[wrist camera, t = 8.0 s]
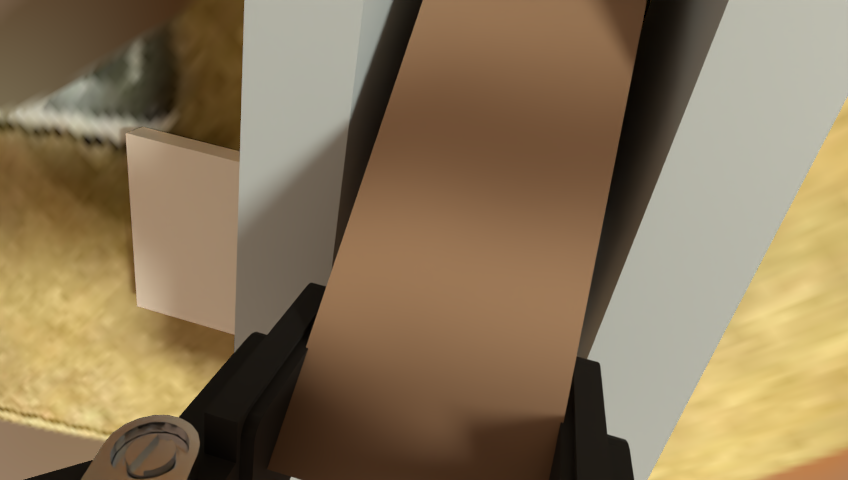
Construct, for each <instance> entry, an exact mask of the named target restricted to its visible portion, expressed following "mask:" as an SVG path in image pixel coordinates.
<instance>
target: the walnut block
mask: <svg viewBox="0 0 848 480" xmlns="http://www.w3.org/2000/svg"><path fill="white" fill-rule="evenodd" d="M646 2H647V0H423V1H422V4H421V7H420V10H419V13H418V16H417V19H416V22H415V25H414V28H413V31H412V34H411V37H410V40H409V43H408V46H407V49H406V52H405V55H404V58H403V61H402V64H401V67H400V70H399V73H398V76H397V79H396V81H395V84H394V87H393V90H392V93H391V96H390V99H389V102H388V105H387V108H386V111H385V114H384V117H383V120H382V123H381V126H380V129H379V132H378V135H377V138H376V141H375V144H374V147H373V150H372V153H371V156H370V159H369V162H368V165H367V167H366V170H365V173H364V176H363V179H362V182H361V185H360V188H359V191H358V194H357V197H356V200H355V203H354V206H353V209H352V212H351V215H350V218H349V221H348V224H347V227H346V230H345V233H344V236H343V239H342V242H341V245H340V248H339V251H338V254H337V256H336V259H335V262H334V265H333V268H332V271H331V274H330V277H329V280H328V283H327V286H326V289H325V292H324V295H323V298H322V301H321V304H320V307H319V310H318V313H317V316H316V319H315V322H314V325H313V328H312V331H311V334H310V337H309V340H308V342H307V345H306V348H308V351H307V354H306V356H305V359H304V362H303V365H302V368H301V371H300V374H299V377H298V380H297V383H296V386H295V389H294V392H293V395H292V398H291V400H290V403H289V406H288V409H287V412H286V415H285V418H284V421H283V424H282V427H281V430H280V433H279V436H278V439H277V442H276V444H275V447H274V450H273V453H272V456H271V459H270V462H269V465H268V468H267V469H269V470H272V471H275V472H278V473H281V474H284V475H288V476H291V477H294V478H297V479H300V480H549V477H550V472H551V467H552V462H553V457H554V453H555V448H556V443H557V438H558V433H559V428H560V423H561V422H562V423H563V422H564V417H565V412H566V407H567V402H568V397H569V392H570V387H571V382H572V377H573V372H574V367H575V362H576V357H577V351H578V346H579V341H580V336H581V331H582V326H583V321H584V316H585V311H586V306H587V301H588V296H589V291H590V286H591V281H592V275H593V270H594V265H595V260H596V255H597V250H598V245H599V240H600V235H601V230H602V225H603V220H604V215H605V210H606V205H607V200H608V194H609V189H610V184H611V179H612V174H613V169H614V164H615V159H616V154H617V149H618V144H619V139H620V134H621V129H622V124H623V118H624V113H625V108H626V103H627V98H628V93H629V88H630V83H631V78H632V73H633V68H634V63H635V58H636V53H637V48H638V42H639V37H640V32H641V27H642V22H643V17H644V12H645V7H646Z"/></svg>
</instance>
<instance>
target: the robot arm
mask: <svg viewBox="0 0 848 480" xmlns="http://www.w3.org/2000/svg"><path fill="white" fill-rule="evenodd" d="M325 289H326V286H323V285H319V284H316V283H309V284H308V285H307V286H306V288H305V289H304V290H303V291H302V292H301V294H300V295H299V296H298V297H297V299H296V300H295V301H294V302H293V304H292V305H291V306H290V307H289V308H288V310H287V311H286V312H285V313H284V315H283V316H282V317H281V318H280V320H279V321H278V322H277V323H276V324H275V326H274V327H273V328H272V329H271V331H270V332H269V333H268V334H267V335H266V334H263V333H259V332H254V333H252V334H251V335H250V336H248V337H247V339H246V340H245V341H244V342H243V343H242V344H241V346H240V347H239V348H238V349H237V350H236V351H235V352H234V354H233V355H232V356H231V357H230V358H229V359H228V361H227V362H226V363H225V364H224V365H223V366H222V368H221V369H220V370H219V371H218V372H217V373H216V375H215V376H214V377H213V378H212V379H211V380H210V382H209V383H208V384H207V385H206V386H205V387H204V389H203V390H202V391H201V392H200V393H199V394H198V396H197V397H196V398H195V399H194V400H193V401H192V402H191V404H190V405H189V406H188V407H187V408H186V409H185V411H184V412H183V413H182V414H181V415H180V416H179V418H178V417H174V416H170V415H152V416H148V417H143V418H139V419H136V420H134V421H131V422H129V423H127V424H125V425H123V426H122V427H120V428H119V429H118V430H116V431H115V432H113V433H112V434H111V435H110V437H109V438H108V439H107V440H106V441H105V443H104V444H103V445H102V447H101V448H100V450H99V452H98V453H97V455H96V456H95V458H94V459H93V460H91V461H88V462H84V463H81V464H77V465H74V466H70V467H67V468H63V469H60V470H56V471H53V472H49V473H46V474H42V475H39V476H35V477H32V478H28V479H25V480H290V478H291V476H288V475H284V474H281V473H278V472H275V471H272V470H269V469H267V468H268V465H269V462H270V459H271V456H272V453H273V450H274V447H275V444H276V442H277V439H278V436H279V433H280V430H281V427H282V424H283V421H284V418H285V415H286V412H287V409H288V406H289V403H290V400H291V398H292V395H293V392H294V389H295V386H296V383H297V380H298V377H299V374H300V371H301V368H302V365H303V362H304V359H305V356H306V354H307V351H308V348H306V345H307V342H308V340H309V337H310V334H311V331H312V328H313V325H314V322H315V319H316V316H317V313H318V310H319V307H320V304H321V301H322V298H323V295H324V292H325ZM549 480H634V475H633V468H632V461H631V454H630V448H629V444H628V442H627V441H626V439H622V438H619V437H615V436H612V435H609V434H607V426H606V416H605V406H604V396H603V386H602V376H601V367H600V363H599V362H596V361H592V360H589V359H585V358H582V357H578V356H577V357H576V362H575V367H574V372H573V377H572V382H571V387H570V392H569V397H568V402H567V407H566V412H565V417H564V422H563V423H562V422H561V423H560V428H559V433H558V438H557V443H556V448H555V453H554V457H553V462H552V467H551V472H550V477H549Z"/></svg>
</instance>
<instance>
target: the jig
mask: <svg viewBox="0 0 848 480" xmlns="http://www.w3.org/2000/svg"><path fill="white" fill-rule="evenodd" d="M422 1H423V0H244V32H243V66H242V100H241V134H240V168H239V202H238V236H237V270H236V304H235V338H234V352H235V351H236V350H237V349H238V348H239V347H240V346H241V344H242V343H243V342H244V341H245V340H246V339H247V337H248V336H250V335H251V334H252V333H254V332H259V333H263V334H266V335H267V334H268V333H269V332H270V331H271V329H272V328H273V327H274V326H275V324H276V323H277V322H278V321H279V320H280V318H281V317H282V316H283V315H284V313H285V312H286V311H287V310H288V308H289V307H290V306H291V305H292V304H293V302H294V301H295V300H296V299H297V297H298V296H299V295H300V294H301V292H302V291H303V290H304V289H305V288H306V286H307V285H308V284H309V283H316V284H319V285H323V286H327V283H328V280H329V277H330V274H331V271H332V268H333V265H334V262H335V259H336V256H337V254H338V251H339V248H340V245H341V242H342V239H343V236H344V233H345V230H346V227H347V224H348V221H349V218H350V215H351V212H352V209H353V206H354V203H355V200H356V197H357V194H358V191H359V188H360V185H361V182H362V179H363V176H364V173H365V170H366V167H367V165H368V162H369V159H370V156H371V153H372V150H373V147H374V144H375V141H376V138H377V135H378V132H379V129H380V126H381V123H382V120H383V117H384V114H385V111H386V108H387V105H388V102H389V99H390V96H391V93H392V90H393V87H394V84H395V81H396V79H397V76H398V73H399V70H400V67H401V64H402V61H403V58H404V55H405V52H406V49H407V46H408V43H409V40H410V37H411V34H412V31H413V28H414V25H415V22H416V19H417V16H418V13H419V10H420V7H421V4H422ZM847 96H848V0H651V3H650V6H649V9H648V12H647V15H646V18H645V21H644V24H643V26H642V29H641V32H640V37H639V42H638V48H637V53H636V58H635V63H634V68H633V73H632V78H631V83H630V88H629V93H628V98H627V103H626V108H625V113H624V118H623V124H622V129H621V134H620V139H619V144H618V149H617V154H616V159H615V164H614V169H613V174H612V179H611V184H610V189H609V194H608V200H607V205H606V210H605V215H604V220H603V225H602V230H601V235H600V240H599V245H598V250H597V255H596V260H595V265H594V270H593V275H592V281H591V286H590V291H589V296H588V301H587V306H586V311H585V316H584V321H583V326H582V331H581V336H580V341H579V346H578V351H577V356H578V357H582V358H585V359H589V360H592V361H596V362H599V363H600V367H601V376H602V386H603V396H604V406H605V416H606V426H607V434H609V435H612V436H615V437H619V438H622V439H626V441H627V442H628V444H629V448H630V454H631V461H632V468H633V475H634V480H647V479H648V478H649V476H650V474H651V472H652V470H653V468H654V466H655V464H656V462H657V460H658V458H659V456H660V455H661V453H662V451H663V449H664V447H665V445H666V443H667V441H668V439H669V437H670V435H671V433H672V432H673V430H674V428H675V426H676V424H677V422H678V420H679V418H680V416H681V414H682V412H683V410H684V409H685V407H686V405H687V403H688V401H689V399H690V397H691V395H692V393H693V391H694V389H695V388H696V386H697V384H698V382H699V380H700V378H701V376H702V374H703V372H704V370H705V368H706V366H707V365H708V363H709V361H710V359H711V357H712V355H713V353H714V351H715V349H716V347H717V345H718V343H719V342H720V340H721V338H722V336H723V334H724V332H725V330H726V328H727V326H728V324H729V322H730V320H731V319H732V317H733V315H734V313H735V311H736V309H737V307H738V305H739V303H740V301H741V299H742V298H743V296H744V294H745V292H746V290H747V288H748V286H749V284H750V282H751V280H752V278H753V276H754V275H755V273H756V271H757V269H758V267H759V265H760V263H761V261H762V259H763V257H764V255H765V253H766V252H767V250H768V248H769V246H770V244H771V242H772V240H773V238H774V236H775V234H776V232H777V230H778V229H779V227H780V225H781V223H782V221H783V219H784V217H785V215H786V213H787V211H788V209H789V208H790V206H791V204H792V202H793V200H794V198H795V196H796V194H797V192H798V190H799V188H800V186H801V185H802V183H803V181H804V179H805V177H806V175H807V173H808V171H809V169H810V167H811V165H812V163H813V162H814V160H815V158H816V156H817V154H818V152H819V150H820V148H821V146H822V144H823V142H824V140H825V139H826V137H827V135H828V133H829V131H830V129H831V127H832V125H833V123H834V121H835V119H836V118H837V116H838V114H839V112H840V110H841V108H842V106H843V104H844V102H845V100H846V98H847ZM290 480H300V479H297V478H294V477H291V478H290Z"/></svg>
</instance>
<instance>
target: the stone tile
mask: <svg viewBox="0 0 848 480" xmlns="http://www.w3.org/2000/svg"><path fill="white" fill-rule="evenodd" d="M126 147H127V162H128V177H129V192H130V207H131V222H132V237H133V252H134V267H135V282H136V297H137V306H138V307H141V308H145V309H148V310H152V311H155V312H158V313H162V314H165V315H169V316H172V317H175V318H179V319H182V320H186V321H189V322H192V323H196V324H199V325H203V326H206V327H209V328H213V329H216V330H220V331H223V332H226V333H230V334H233V335H235V304H236V270H237V236H238V202H239V168H240V151H236V150H232V149H228V148H225V147H221V146H217V145H213V144H209V143H205V142H201V141H197V140H193V139H189V138H185V137H181V136H177V135H173V134H169V133H165V132H161V131H158V130H154V129H150V128H146V127H141V128H138V129H135V130H133V131H130V132H127V133H126Z"/></svg>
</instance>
